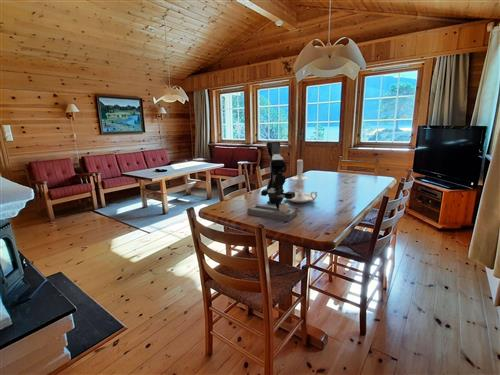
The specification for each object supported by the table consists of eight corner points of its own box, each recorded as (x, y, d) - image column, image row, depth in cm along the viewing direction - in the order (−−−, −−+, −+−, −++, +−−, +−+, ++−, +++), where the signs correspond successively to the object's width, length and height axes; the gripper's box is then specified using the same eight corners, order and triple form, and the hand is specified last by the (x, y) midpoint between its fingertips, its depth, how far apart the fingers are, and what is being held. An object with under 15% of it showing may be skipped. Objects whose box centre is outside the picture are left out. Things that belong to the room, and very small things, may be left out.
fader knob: (282, 211, 153) (282, 202, 152) (289, 212, 151) (289, 203, 149) (279, 213, 149) (279, 204, 148) (286, 214, 147) (286, 205, 146)
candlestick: (306, 209, 162) (307, 163, 156) (277, 200, 181) (277, 159, 175) (327, 202, 175) (328, 159, 168) (298, 195, 194) (298, 156, 187)
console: (257, 208, 166) (257, 203, 165) (297, 214, 153) (297, 208, 152) (247, 214, 156) (247, 208, 156) (288, 221, 143) (288, 215, 142)
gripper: (255, 182, 146) (256, 210, 150) (287, 186, 137) (287, 215, 140) (265, 179, 155) (265, 205, 159) (295, 181, 146) (295, 209, 149)
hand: (277, 208), depth 152 cm, fingers closed
